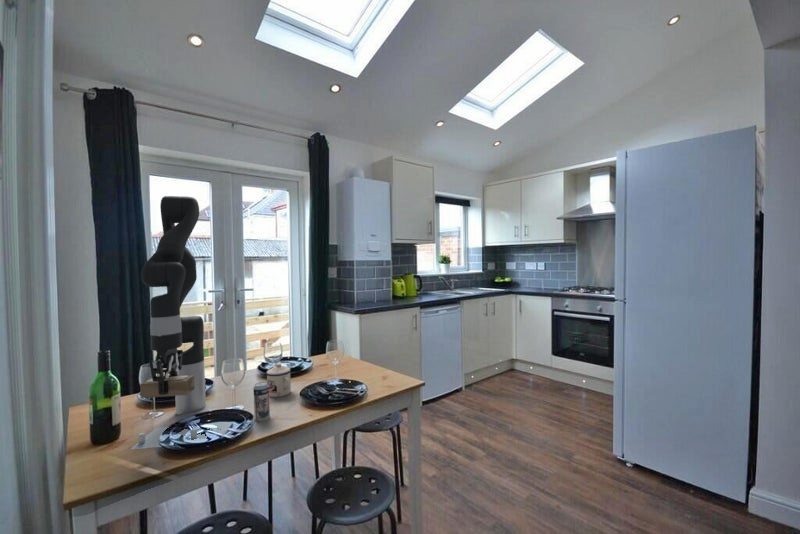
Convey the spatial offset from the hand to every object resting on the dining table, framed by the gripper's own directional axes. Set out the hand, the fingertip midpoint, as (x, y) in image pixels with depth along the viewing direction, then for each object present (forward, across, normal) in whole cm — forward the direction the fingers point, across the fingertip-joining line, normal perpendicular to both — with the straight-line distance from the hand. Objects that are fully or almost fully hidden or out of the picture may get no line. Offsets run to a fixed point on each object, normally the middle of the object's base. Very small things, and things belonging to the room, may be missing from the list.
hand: (168, 390), depth 103 cm
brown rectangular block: (+1, 0, 0) cm, 1 cm away
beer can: (+16, -10, +23) cm, 30 cm away
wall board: (+15, -3, +3) cm, 16 cm away
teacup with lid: (+16, -34, +24) cm, 45 cm away
